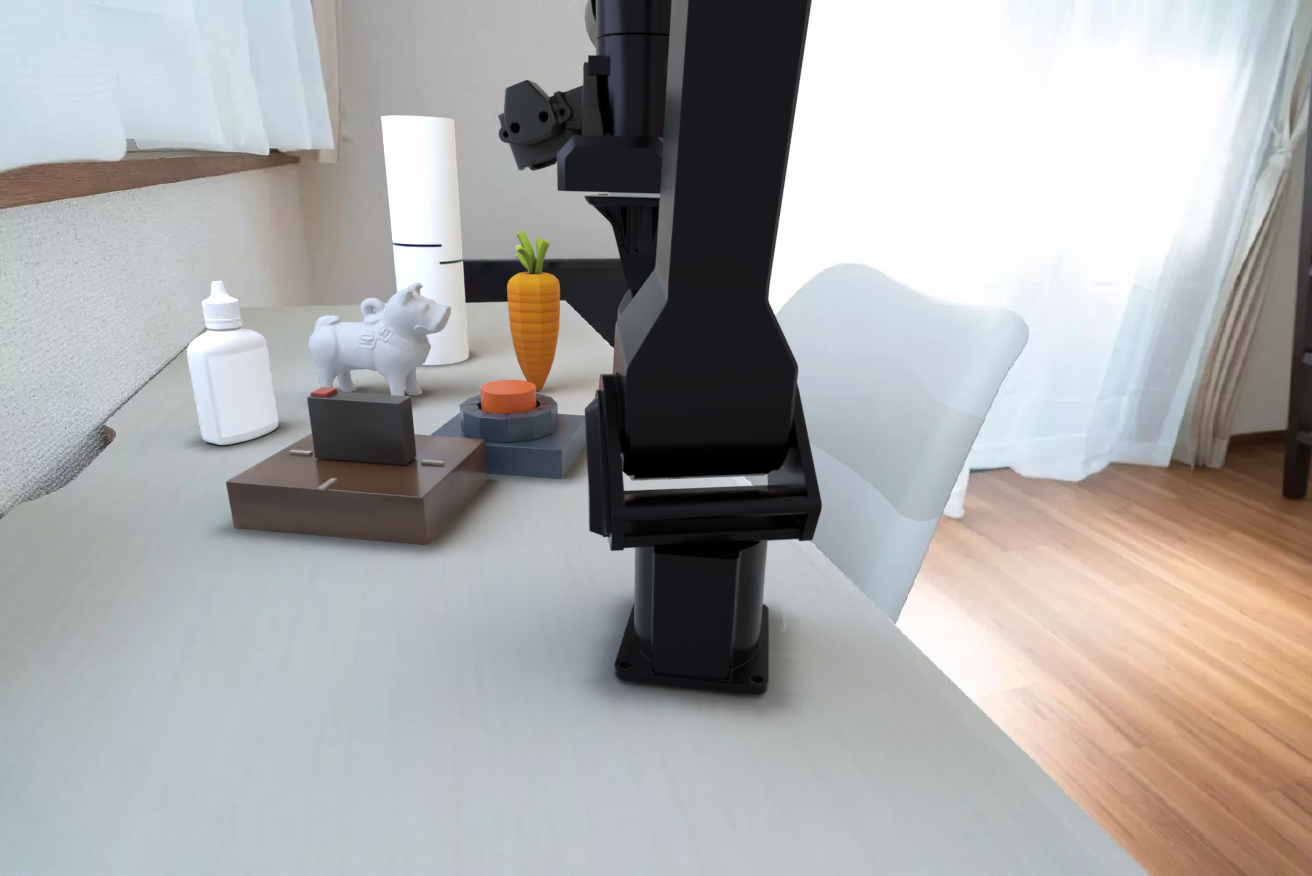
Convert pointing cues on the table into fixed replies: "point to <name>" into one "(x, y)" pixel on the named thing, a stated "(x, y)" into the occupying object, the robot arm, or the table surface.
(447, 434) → the button box
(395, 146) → the cylindrical container
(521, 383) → the button
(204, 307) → the eye dropper bottle
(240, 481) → the brown flat block
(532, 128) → the robot arm
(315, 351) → the dog figurine
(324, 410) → the block
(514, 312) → the carrot
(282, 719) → the table surface
